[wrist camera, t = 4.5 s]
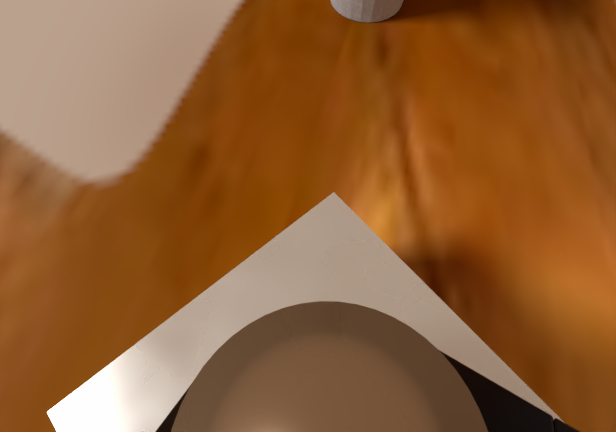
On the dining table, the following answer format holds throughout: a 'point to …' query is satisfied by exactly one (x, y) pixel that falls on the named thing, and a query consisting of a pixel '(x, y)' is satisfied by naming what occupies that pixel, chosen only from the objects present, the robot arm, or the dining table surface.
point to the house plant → (367, 9)
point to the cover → (300, 348)
